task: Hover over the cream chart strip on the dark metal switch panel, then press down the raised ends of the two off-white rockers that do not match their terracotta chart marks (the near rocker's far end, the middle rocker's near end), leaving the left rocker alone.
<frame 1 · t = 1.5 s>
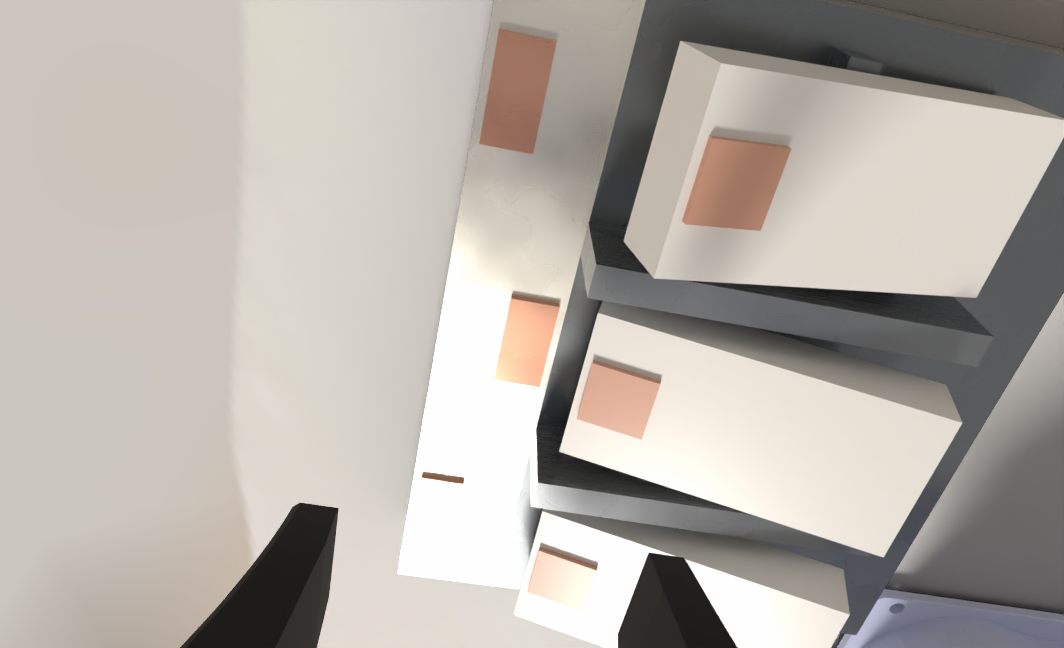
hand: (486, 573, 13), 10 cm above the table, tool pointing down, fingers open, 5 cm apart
switch panel: (705, 323, 23), on the table
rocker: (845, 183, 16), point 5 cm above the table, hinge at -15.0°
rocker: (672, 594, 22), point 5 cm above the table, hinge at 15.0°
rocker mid: (744, 421, 19), point 5 cm above the table, hinge at 15.0°
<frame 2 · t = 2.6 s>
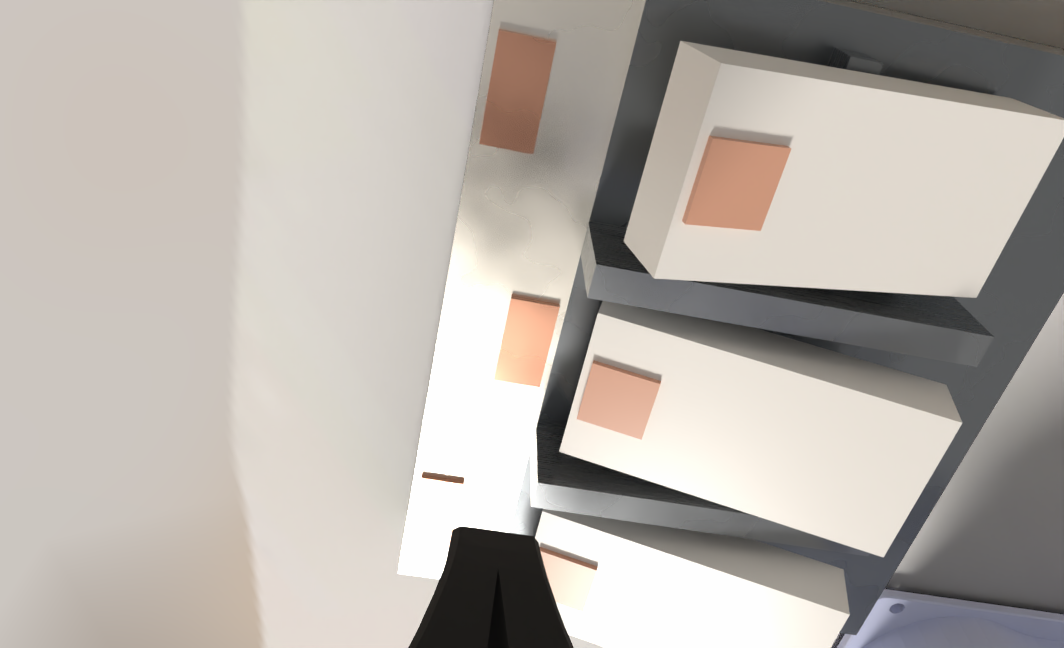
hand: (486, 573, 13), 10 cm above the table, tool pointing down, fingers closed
switch panel: (705, 323, 23), on the table
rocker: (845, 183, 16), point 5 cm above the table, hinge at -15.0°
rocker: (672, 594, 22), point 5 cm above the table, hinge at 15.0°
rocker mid: (744, 421, 19), point 5 cm above the table, hinge at 15.0°
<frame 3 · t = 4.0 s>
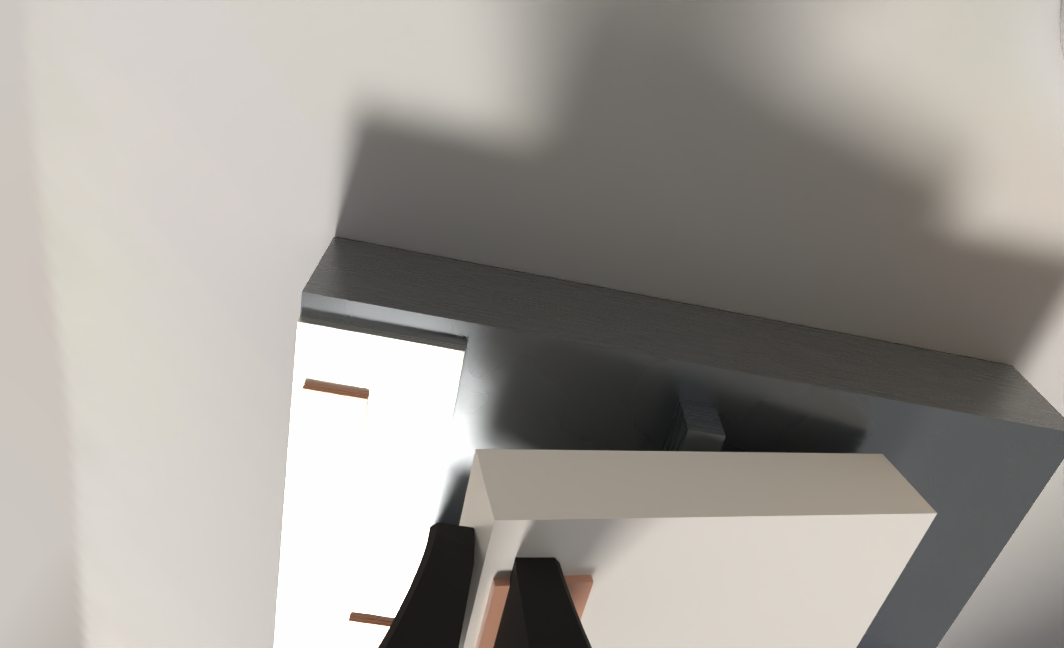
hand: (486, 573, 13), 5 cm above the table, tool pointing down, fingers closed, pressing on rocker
switch panel: (587, 596, 21), on the table
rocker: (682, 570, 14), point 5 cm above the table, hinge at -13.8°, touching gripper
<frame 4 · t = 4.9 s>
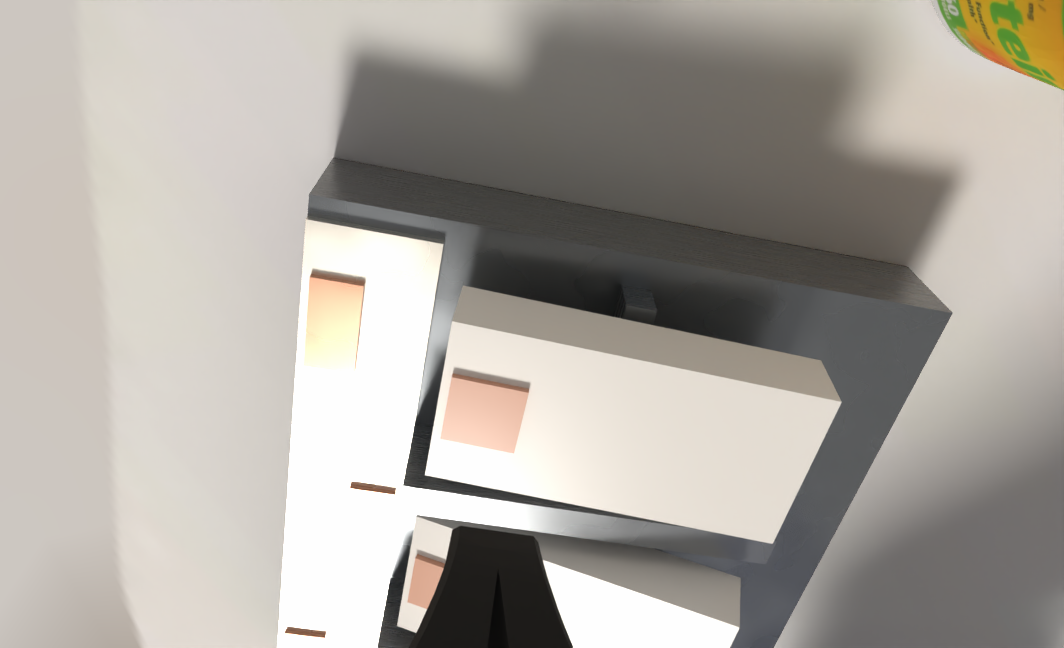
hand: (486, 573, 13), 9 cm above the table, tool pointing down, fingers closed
switch panel: (555, 482, 24), on the table
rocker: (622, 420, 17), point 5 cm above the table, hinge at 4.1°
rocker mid: (561, 605, 20), point 5 cm above the table, hinge at 15.0°
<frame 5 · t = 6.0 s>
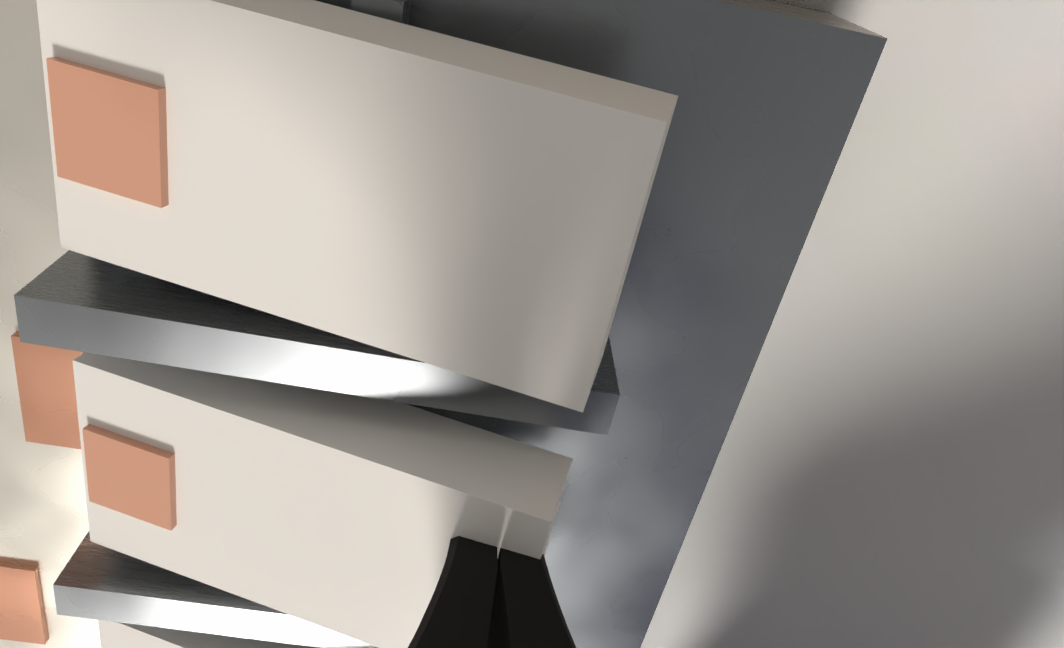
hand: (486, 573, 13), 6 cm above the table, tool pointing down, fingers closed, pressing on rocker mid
switch panel: (364, 360, 18), on the table
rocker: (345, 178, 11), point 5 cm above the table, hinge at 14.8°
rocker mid: (316, 504, 14), point 5 cm above the table, hinge at 15.0°, touching gripper
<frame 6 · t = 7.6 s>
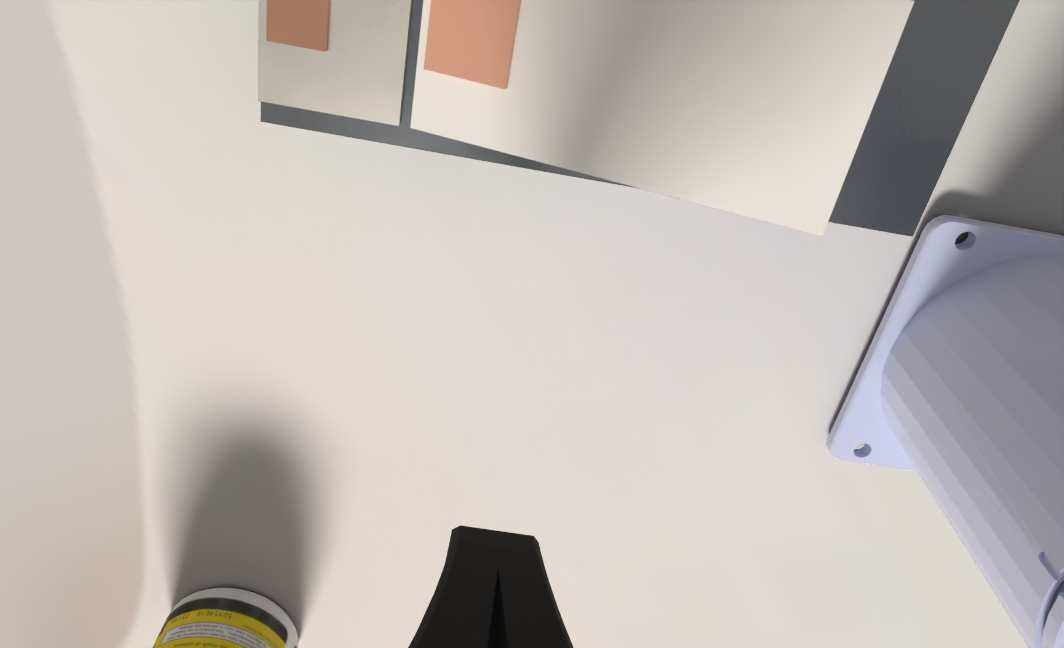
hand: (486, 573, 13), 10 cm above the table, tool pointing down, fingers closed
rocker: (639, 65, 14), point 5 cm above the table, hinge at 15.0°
supplement bottle: (237, 624, 29), on the table
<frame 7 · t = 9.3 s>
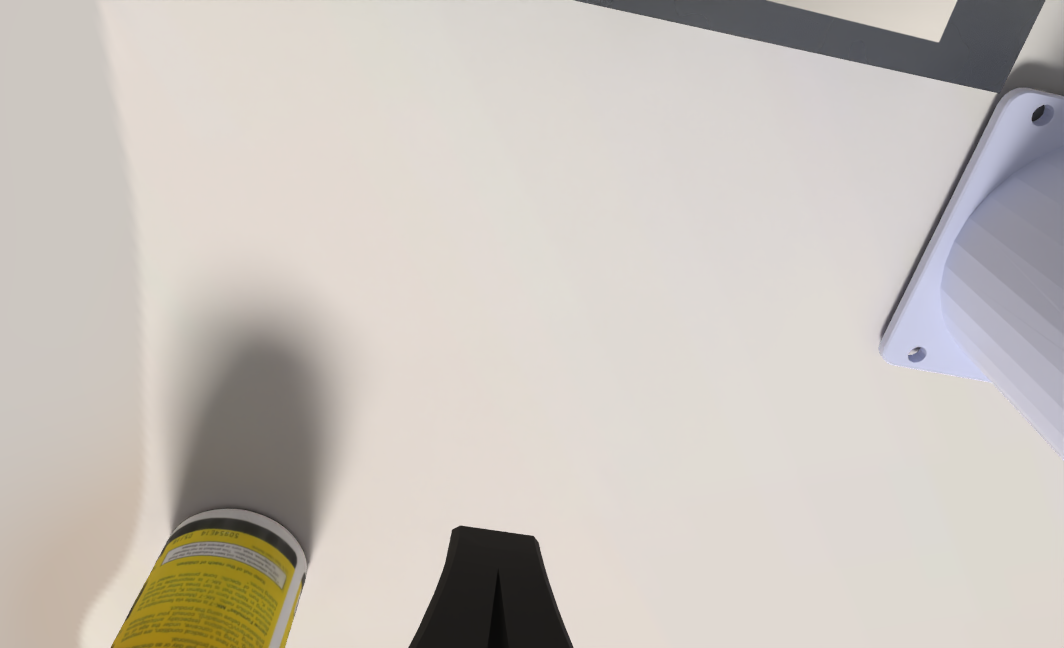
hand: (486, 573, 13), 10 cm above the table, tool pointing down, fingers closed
supplement bottle: (242, 551, 27), on the table
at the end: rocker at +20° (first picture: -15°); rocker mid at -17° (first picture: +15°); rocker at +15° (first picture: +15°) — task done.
